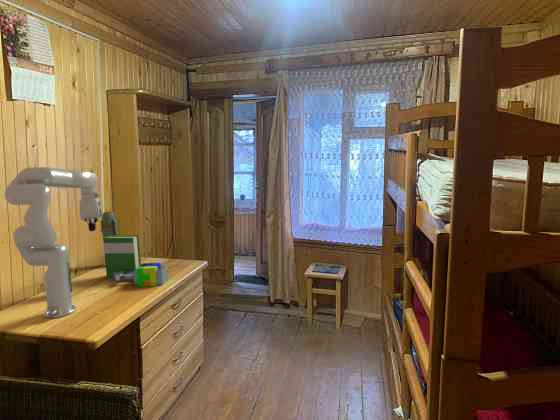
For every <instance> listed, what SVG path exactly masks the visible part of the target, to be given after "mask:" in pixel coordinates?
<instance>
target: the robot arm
mask: <svg viewBox="0 0 560 420" xmlns="http://www.w3.org/2000/svg"><path fill="white" fill-rule="evenodd" d="M98 183H99V178H98V176H97V174H96V173H94V172H90V171H82V170H73V169H64V168H63V169H62V168H54V167H50V166H49V167H48V166H39V167H36V166H35V167H26V168H23V169H22V170H21V171H20V172H19V173H17V175H16V176H15V177H14V178H13V180H11V182H10V183H9V184H8V186H7V187H6V188H5V191H4V198H5V200H6V202H7V203H8V204H10V205H14V206H28V208H27V210H26V211H25V213H24V215H23V222H24V225H20V226H18V227H17V228H16V229H15V230H14V232H13V243H14V244H15V247H16V248H17V251H18V252H19V253H20V255H21V257H22V258H23V260H24V261H25V263H26V264H27V265H29V266H35V267H41V266H43V267H44V266H46V267H47V269H46V271H45V273H44V274H43V282H44V289H45V297H46V305H47V306H46V310H45V311H44V312H43V314H42V316H43V317H44V318H45V317H46V318H50V319H51V318H52V319H55V318H61V317H65V316H68V315H71V314H73V313H75V311H76V310H77V307H76V305H74V304H73V303H72V296H71V293H72V292H71V293H70V283H69V274H68V262H69V256H70V250H69V249H68V247H67V246H66V245H64V244H60V243H56V242H57V239H58V237H57V233H56V231H55V229H54V227H53V225H52V223H51V221H50V218H49V216H48V209H49V204H50V202H51V198H52V191H51V189H50V188H58V189H59V188H61V189H66V188H67V189H69V188H72V189H79V190H80V196H81V197H80V198H81V199H79V216H80V221H84V222H86V223H87V225H88V230H89V232H94V231H96V227H97V226H96V225H97V224H96V223H97V222H98V221H101V220H102V216H103V208H102V204H101V200H100V198H98V197H101V194H100V193H98V190H97V186H98Z"/></svg>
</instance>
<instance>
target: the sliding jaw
mask: <svg viewBox="0 0 560 420" xmlns="http://www.w3.org/2000/svg"><path fill="white" fill-rule="evenodd" d="M137 268H138V267H137ZM137 268H136V269H135V270H134V271H133V274H124V271H120V272H119V273H118V274H117V275H116V281H115V282H120V281H119V280H121V279H122V278H123V277H133V279H134V281H133V285H134V286H138V280H137Z"/></svg>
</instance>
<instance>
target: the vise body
mask: <svg viewBox="0 0 560 420" xmlns="http://www.w3.org/2000/svg"><path fill="white" fill-rule="evenodd" d="M168 271H169V270H168V269H167V265H161V266H160V268H159V269H158V270H157V271H156V275H157V286H163V285H164V284H165V283H166V282H167V280H168V279H169V272H168ZM119 272H120V271H117V272H113V276H114V279H113V282H117V281H116V275H117V274H118V273H119ZM124 274H133V271H124ZM127 281H128V282H130V281H131V282H134V279H133V277H123V278H122V279H121V280H119V281H118V282H127Z"/></svg>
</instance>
